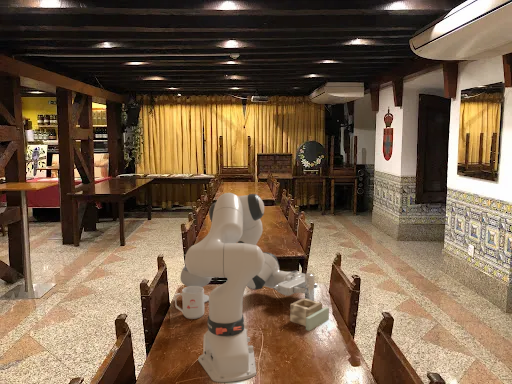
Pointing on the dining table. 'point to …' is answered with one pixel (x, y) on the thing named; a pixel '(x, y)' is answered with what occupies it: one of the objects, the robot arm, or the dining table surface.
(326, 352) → the dining table surface
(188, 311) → the mug
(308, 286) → the dowel
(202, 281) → the chalice
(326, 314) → the wall
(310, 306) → the socket block
